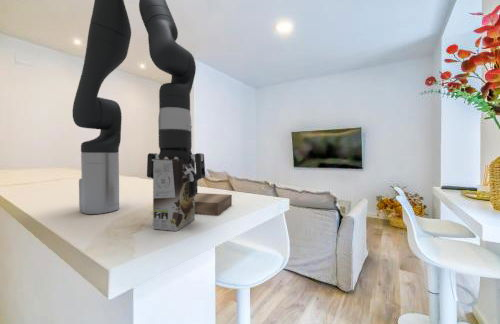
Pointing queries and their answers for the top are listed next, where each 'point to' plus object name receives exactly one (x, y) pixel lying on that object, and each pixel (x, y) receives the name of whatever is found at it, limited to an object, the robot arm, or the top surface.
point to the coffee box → (171, 195)
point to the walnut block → (212, 203)
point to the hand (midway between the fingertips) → (176, 196)
